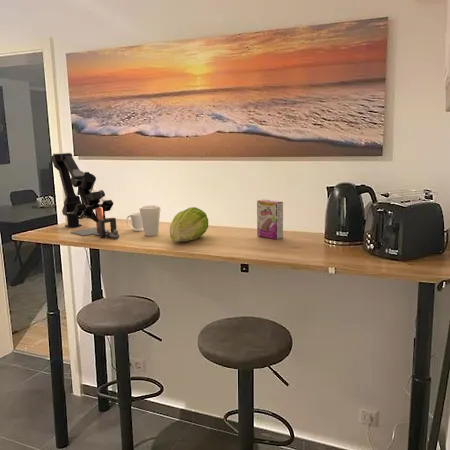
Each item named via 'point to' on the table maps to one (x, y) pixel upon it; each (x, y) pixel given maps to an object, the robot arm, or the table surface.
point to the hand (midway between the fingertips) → (101, 221)
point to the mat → (86, 231)
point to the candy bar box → (270, 219)
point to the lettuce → (188, 225)
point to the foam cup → (150, 219)
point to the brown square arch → (102, 226)
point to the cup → (136, 221)
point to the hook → (99, 216)
